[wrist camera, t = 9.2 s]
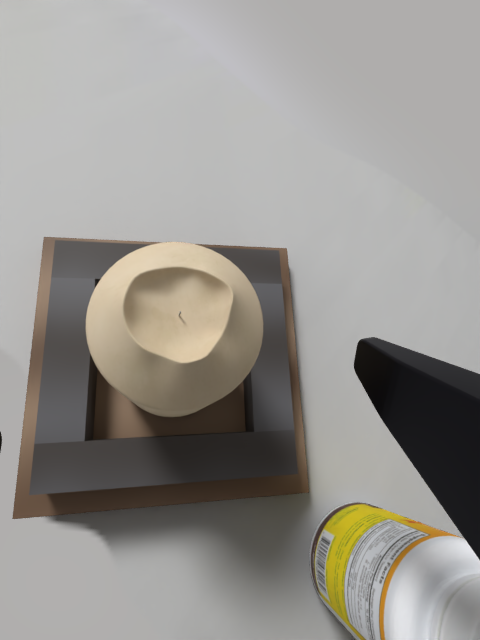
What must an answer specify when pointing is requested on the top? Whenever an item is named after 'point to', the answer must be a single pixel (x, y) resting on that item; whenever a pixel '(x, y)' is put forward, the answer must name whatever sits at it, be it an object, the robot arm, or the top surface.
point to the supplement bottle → (395, 576)
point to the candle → (174, 327)
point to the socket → (141, 426)
